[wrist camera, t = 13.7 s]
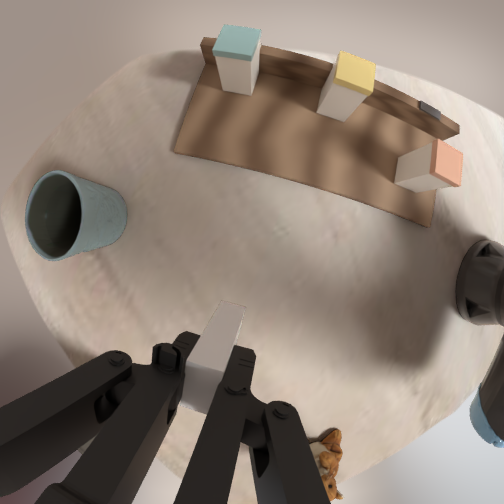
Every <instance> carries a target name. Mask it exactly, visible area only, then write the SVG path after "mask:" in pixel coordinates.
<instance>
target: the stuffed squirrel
mask: <svg viewBox="0 0 504 504" xmlns="http://www.w3.org/2000/svg"><path fill="white" fill-rule="evenodd" d="M340 442H341V431H340V430H334V431H333V432H331V433H330V434H329V435H328V436H327V437H326V438H325V439H323V440H322V442H314V443H311V444H309V445H310V448H311V451H312V453H313V456H314V459H315V462H316V464H317V467H318V470H319V473H320V475H321V478H322V481H323V484H324V486H325V489H326V492H327V495H328V497H329V500H330V501H332V500H334V499H335V498H336V499H343V497H344V496H343V495H342V494H341V493H340V492H339V491H338V490H337V487H336V481H335V479H334V477H335V476H336V474H337V471H338V466H339V461H340V459H341V457H342V449H341V448H340Z"/></svg>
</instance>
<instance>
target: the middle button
mask: <svg viewBox="0 0 504 504" xmlns="http://www.w3.org/2000/svg"><path fill="white" fill-rule="evenodd" d="M375 68H376V64H375V63H372V62H370V61H367V60H365V59H362V58H360V57H357V56H354V55H352V54H349V53H346V52H343V51H340V53H339V54H338V57H337V61H336V63H335V65H334V66H333V68H332V70H331V72H330V74H329V76H328V78H327V80H326V82H325V84H324V86H323V88H322V90H321V95H320V99H319V104H318V108H317V112H316V113H318V114H321V115H324V116H328V117H331V118H333V119H336V120H339V121H342V122H345V121H346V119H347V118H348V117H349V116H350V115H351V114H352V113H353V112H354V110H355V109H356V108H357V107H358V106H359V105H360V104H361V103H362V102H363V100H364V99H365V98H366V97H367V96H370V95H371V93H372V92H373V87H374V78H375Z"/></svg>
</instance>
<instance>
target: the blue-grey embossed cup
mask: <svg viewBox="0 0 504 504" xmlns="http://www.w3.org/2000/svg"><path fill="white" fill-rule="evenodd" d="M126 222H127V208H126V205H125V202H124V200H123V198H122V197H121V195H120V194H119V193H118V192H117V191H115V190H113V189H111V188H108V187H106V186H102V185H100V184H96V183H94V182H92V181H89V180H86V179H83V178H80V177H77V176H75V175H73V174H70V173H68V172H65V171H61V170H54V171H51V172H48V173H46V174H45V175H43V176H42V177H41V178H40V179H39V180H38V181H37V182H36V184H35V185H34V187H33V188H32V190H31V193H30V195H29V198H28V201H27V205H26V212H25V226H26V232H27V236H28V239H29V242H30V243H31V245H32V247H33V249H34V250H35V251H36V252H37V253H38V254H39V255H40V256H41V257H43V258H44V259H47V260H49V261H59V260H62V259H65V258H68V257H71V256H73V255H75V254H79V253H80V252H87V251H90V250H94V249H96V248H100V247H104V246H107V245H110V244H112V243H113V242H115V241H116V240H117V239H118V238H119V237H120V236H121V234H122V233H123V231H124V229H125V226H126Z"/></svg>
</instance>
